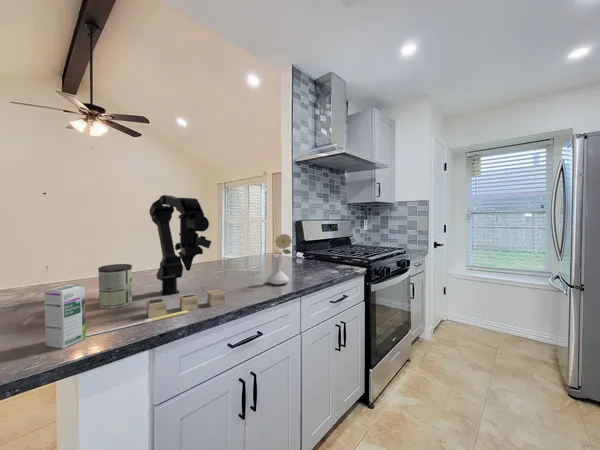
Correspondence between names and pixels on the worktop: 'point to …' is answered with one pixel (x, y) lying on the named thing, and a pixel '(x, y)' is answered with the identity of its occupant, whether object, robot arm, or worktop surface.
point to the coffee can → (115, 285)
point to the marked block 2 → (188, 302)
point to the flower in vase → (278, 275)
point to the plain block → (216, 298)
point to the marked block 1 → (156, 308)
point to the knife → (146, 321)
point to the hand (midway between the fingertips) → (188, 270)
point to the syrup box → (65, 315)
